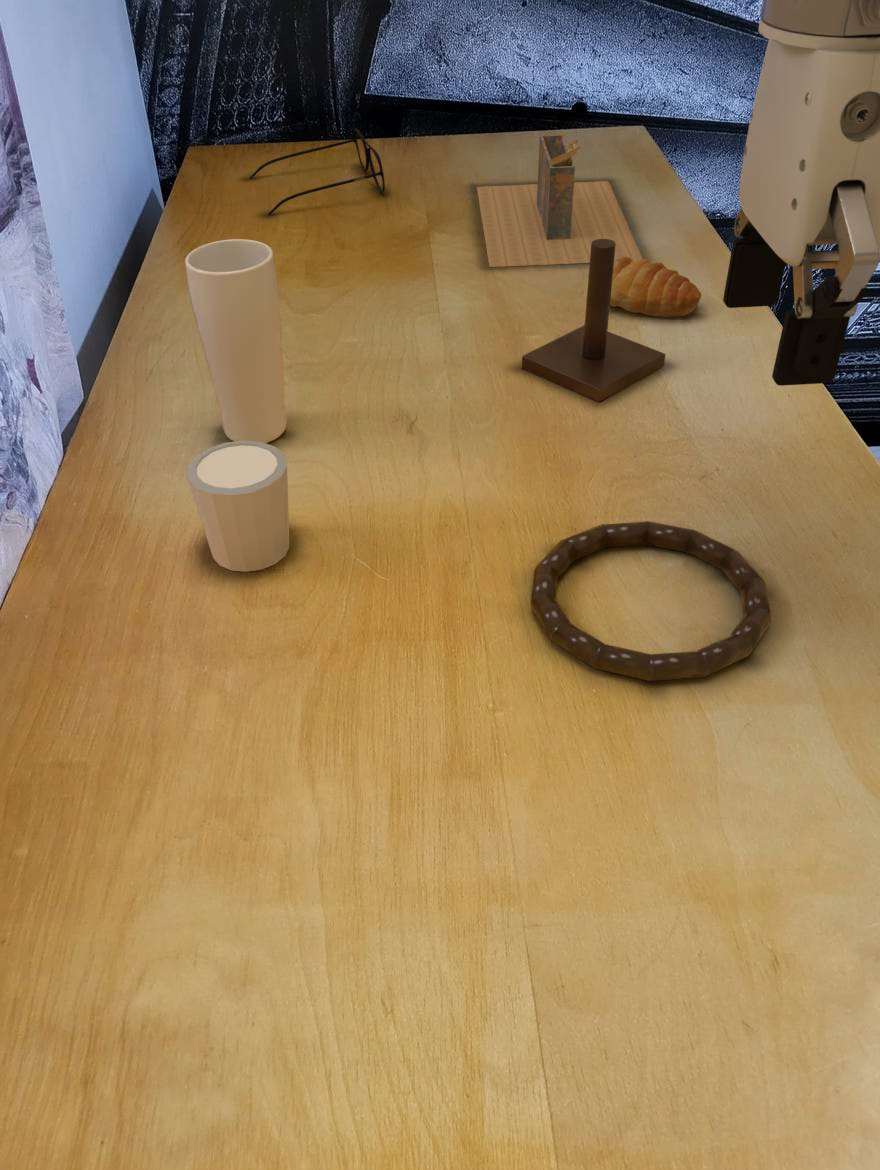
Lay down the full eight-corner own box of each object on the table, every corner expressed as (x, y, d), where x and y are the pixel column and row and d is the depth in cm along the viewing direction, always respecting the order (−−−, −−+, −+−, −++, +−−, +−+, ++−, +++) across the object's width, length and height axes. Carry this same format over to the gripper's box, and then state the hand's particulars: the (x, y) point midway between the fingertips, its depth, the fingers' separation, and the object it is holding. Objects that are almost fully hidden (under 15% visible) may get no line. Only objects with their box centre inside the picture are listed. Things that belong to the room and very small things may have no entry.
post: (586, 335, 98) (596, 214, 91) (664, 366, 93) (681, 241, 86) (521, 368, 94) (526, 244, 87) (599, 402, 89) (611, 274, 81)
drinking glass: (203, 449, 86) (169, 271, 76) (232, 408, 91) (203, 235, 81) (281, 456, 84) (256, 276, 74) (306, 414, 89) (286, 240, 79)
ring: (626, 510, 77) (629, 491, 76) (815, 605, 68) (821, 586, 67) (482, 603, 70) (482, 584, 69) (672, 723, 61) (676, 704, 60)
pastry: (710, 302, 103) (716, 263, 100) (680, 328, 99) (686, 290, 96) (623, 282, 107) (627, 245, 104) (592, 307, 103) (595, 269, 100)
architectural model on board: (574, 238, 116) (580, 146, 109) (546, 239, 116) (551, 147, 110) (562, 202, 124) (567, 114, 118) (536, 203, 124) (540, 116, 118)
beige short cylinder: (184, 549, 76) (166, 467, 71) (258, 509, 79) (245, 428, 74) (242, 590, 72) (227, 506, 67) (317, 546, 75) (307, 463, 71)
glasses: (388, 198, 128) (381, 157, 124) (271, 230, 127) (261, 188, 123) (361, 163, 138) (354, 124, 135) (253, 191, 137) (243, 152, 134)
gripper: (1017, 35, 42) (898, 413, 53) (859, -41, 55) (791, 277, 66) (832, 45, 42) (752, 421, 53) (717, -33, 55) (673, 283, 66)
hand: (774, 341), depth 60 cm, fingers open, 9 cm apart
